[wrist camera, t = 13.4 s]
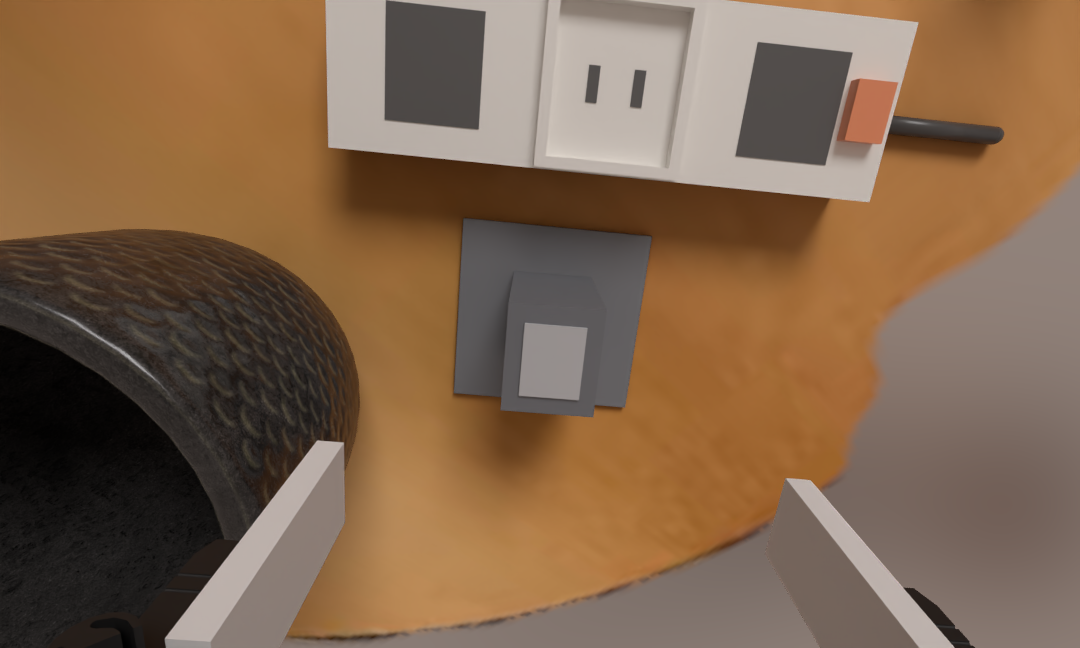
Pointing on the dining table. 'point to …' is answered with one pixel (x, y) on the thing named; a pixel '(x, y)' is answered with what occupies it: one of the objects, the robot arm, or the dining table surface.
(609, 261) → the mat
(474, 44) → the strip
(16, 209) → the dining table surface
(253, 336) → the planter
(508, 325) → the charger
